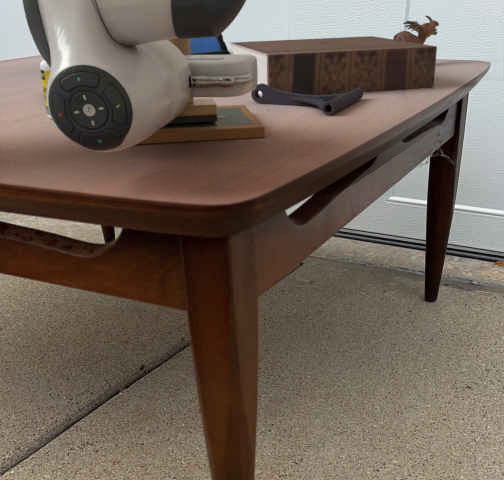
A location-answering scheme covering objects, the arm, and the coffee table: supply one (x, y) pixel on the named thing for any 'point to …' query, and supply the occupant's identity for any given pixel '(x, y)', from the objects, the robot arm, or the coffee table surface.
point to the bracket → (306, 98)
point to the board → (212, 127)
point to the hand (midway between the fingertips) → (180, 66)
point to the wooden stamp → (196, 107)
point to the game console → (209, 46)
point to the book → (341, 64)
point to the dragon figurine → (422, 30)
